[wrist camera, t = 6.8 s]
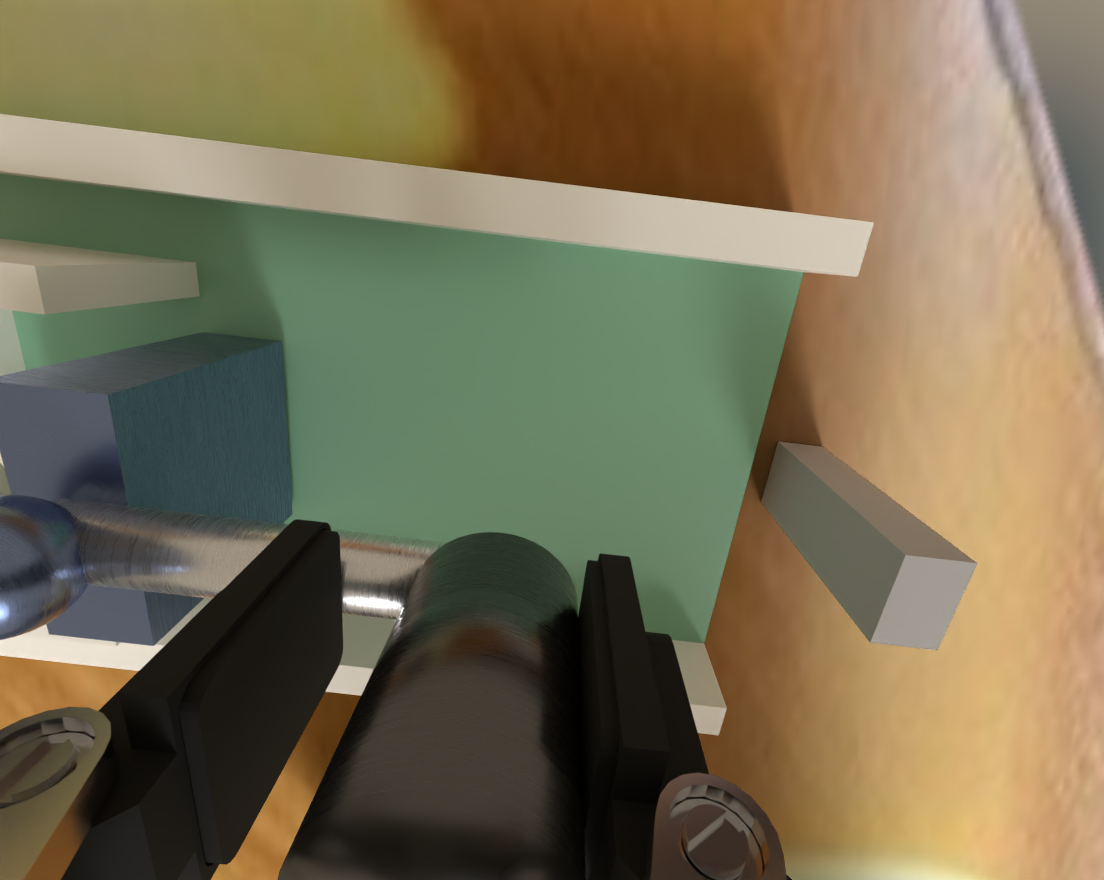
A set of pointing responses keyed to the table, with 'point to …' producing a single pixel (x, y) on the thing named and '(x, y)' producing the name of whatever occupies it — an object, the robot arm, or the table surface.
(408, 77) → the table surface
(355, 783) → the table football player
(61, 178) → the pitch
